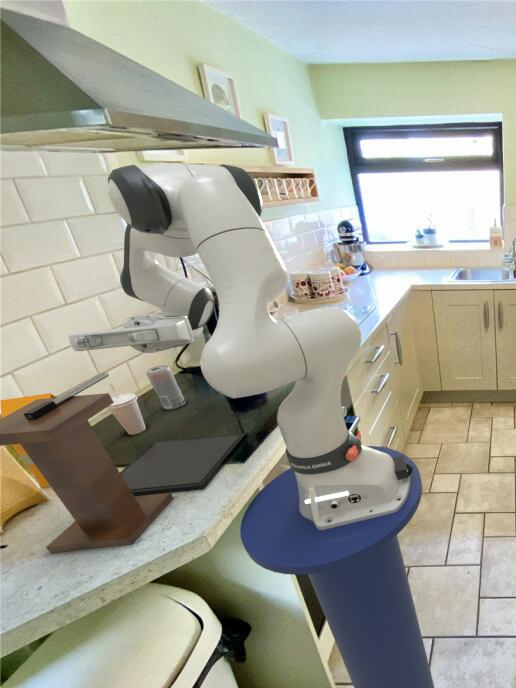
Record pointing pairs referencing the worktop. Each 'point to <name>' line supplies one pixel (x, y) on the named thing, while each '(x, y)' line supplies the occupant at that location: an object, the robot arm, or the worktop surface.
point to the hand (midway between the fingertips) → (105, 340)
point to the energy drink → (166, 387)
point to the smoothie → (127, 412)
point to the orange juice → (6, 409)
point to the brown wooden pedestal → (82, 474)
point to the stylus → (61, 398)
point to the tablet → (180, 464)
